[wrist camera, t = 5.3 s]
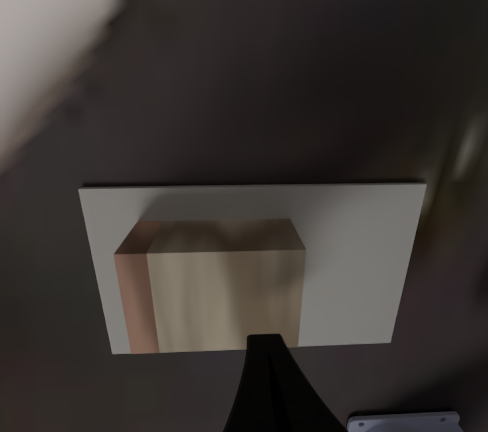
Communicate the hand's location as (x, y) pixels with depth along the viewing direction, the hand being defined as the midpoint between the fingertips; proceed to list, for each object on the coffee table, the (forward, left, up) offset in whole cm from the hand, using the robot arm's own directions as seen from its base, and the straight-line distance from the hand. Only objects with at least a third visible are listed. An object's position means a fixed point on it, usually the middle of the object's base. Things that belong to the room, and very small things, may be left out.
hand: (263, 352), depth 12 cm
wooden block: (-2, 0, -5) cm, 6 cm away
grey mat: (0, +1, -8) cm, 8 cm away
